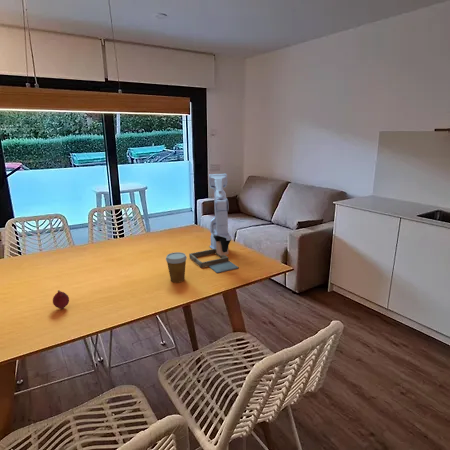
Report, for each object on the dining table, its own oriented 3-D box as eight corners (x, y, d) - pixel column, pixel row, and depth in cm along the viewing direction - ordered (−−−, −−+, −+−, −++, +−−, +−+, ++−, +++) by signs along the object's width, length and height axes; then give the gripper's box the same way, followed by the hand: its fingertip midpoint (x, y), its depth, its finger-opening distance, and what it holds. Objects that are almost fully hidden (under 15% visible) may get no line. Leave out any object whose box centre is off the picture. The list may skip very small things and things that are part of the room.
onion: (72, 304, 138) (69, 286, 136) (66, 312, 133) (63, 293, 131) (58, 305, 138) (54, 287, 136) (51, 312, 133) (48, 293, 130)
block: (216, 253, 171) (216, 241, 169) (224, 251, 173) (224, 240, 171) (220, 255, 167) (220, 244, 166) (228, 254, 169) (228, 242, 168)
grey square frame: (189, 258, 185) (189, 253, 184) (215, 252, 192) (215, 248, 191) (201, 267, 172) (201, 263, 171) (228, 261, 179) (228, 257, 178)
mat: (208, 266, 173) (208, 265, 173) (229, 262, 178) (229, 260, 178) (216, 273, 165) (216, 272, 165) (238, 268, 170) (238, 267, 170)
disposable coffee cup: (189, 275, 163) (188, 252, 160) (185, 284, 154) (184, 259, 151) (170, 275, 164) (168, 251, 161) (164, 284, 155) (162, 259, 152)
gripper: (208, 221, 170) (208, 247, 174) (221, 228, 158) (222, 256, 162) (220, 219, 174) (221, 245, 177) (234, 226, 161) (235, 253, 165)
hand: (222, 250), depth 170 cm, fingers closed on block, 4 cm apart
